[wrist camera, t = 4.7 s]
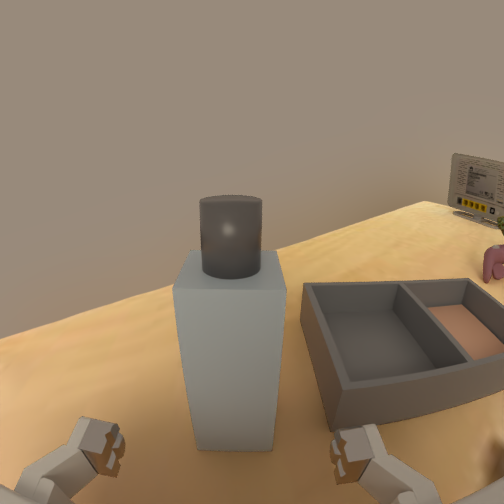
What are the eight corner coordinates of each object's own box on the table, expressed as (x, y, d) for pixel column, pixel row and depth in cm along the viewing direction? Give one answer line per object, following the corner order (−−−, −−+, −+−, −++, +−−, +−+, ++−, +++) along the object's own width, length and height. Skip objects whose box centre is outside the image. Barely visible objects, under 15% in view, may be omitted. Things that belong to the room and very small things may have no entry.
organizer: (459, 308, 30) (468, 278, 29) (527, 379, 17) (546, 343, 16) (300, 319, 30) (303, 282, 29) (330, 431, 17) (342, 390, 15)
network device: (513, 231, 69) (522, 167, 62) (505, 233, 66) (514, 164, 59) (454, 210, 91) (460, 154, 85) (442, 210, 88) (447, 151, 81)
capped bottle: (267, 401, 20) (278, 192, 15) (271, 451, 16) (290, 212, 11) (204, 400, 20) (188, 192, 15) (197, 449, 16) (166, 212, 11)
